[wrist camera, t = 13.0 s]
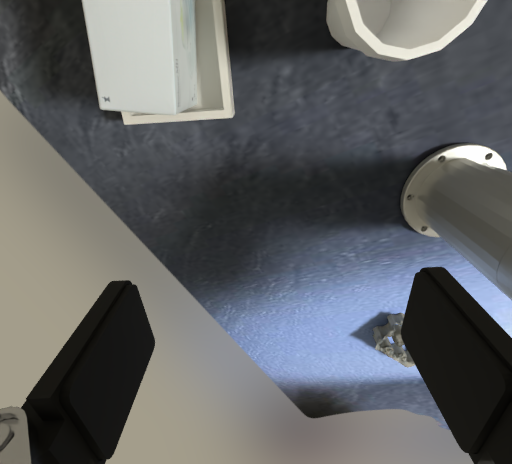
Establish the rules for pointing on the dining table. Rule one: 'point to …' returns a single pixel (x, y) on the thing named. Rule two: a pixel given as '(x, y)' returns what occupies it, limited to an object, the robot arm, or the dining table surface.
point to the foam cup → (399, 25)
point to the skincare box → (143, 54)
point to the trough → (204, 70)
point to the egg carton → (396, 348)
